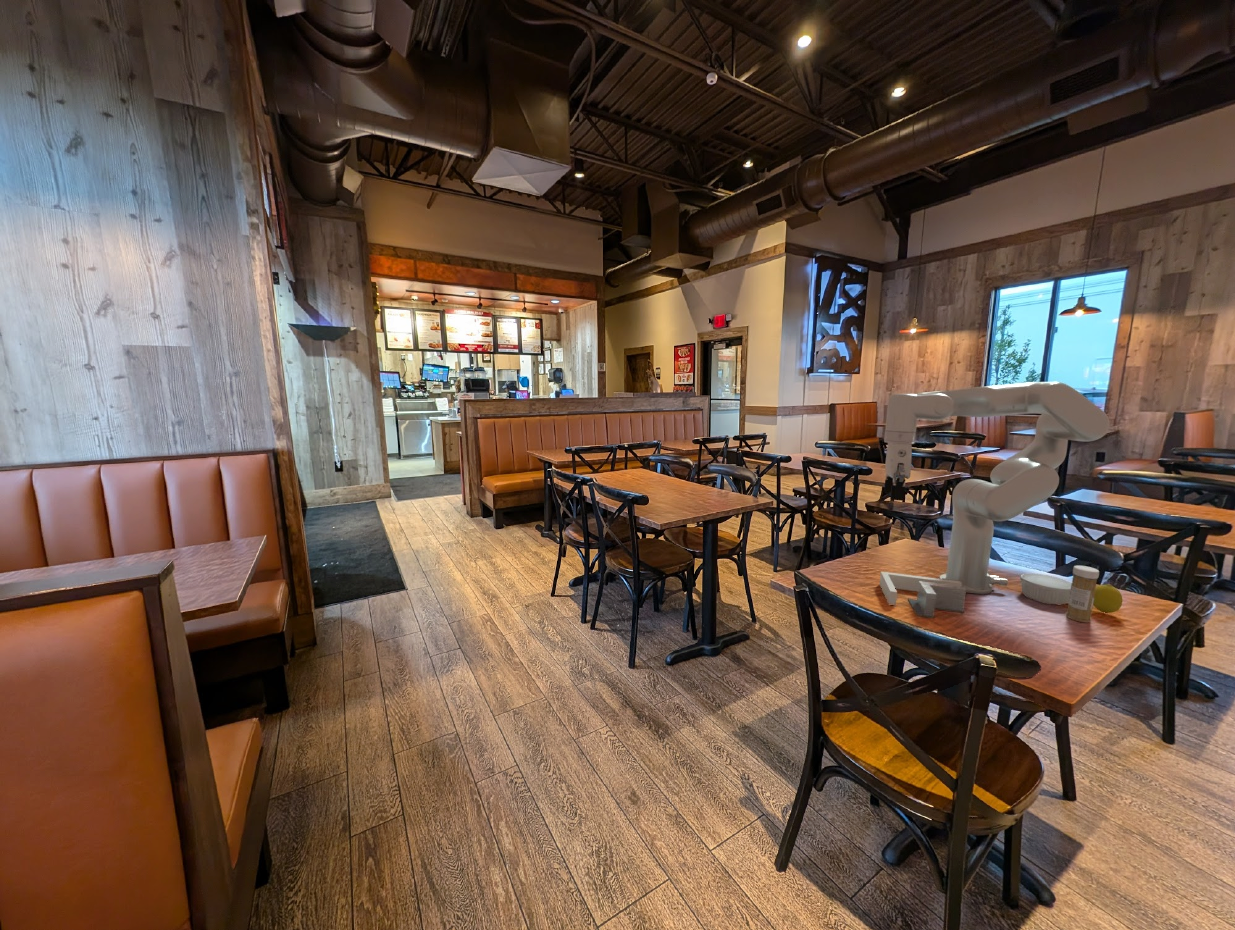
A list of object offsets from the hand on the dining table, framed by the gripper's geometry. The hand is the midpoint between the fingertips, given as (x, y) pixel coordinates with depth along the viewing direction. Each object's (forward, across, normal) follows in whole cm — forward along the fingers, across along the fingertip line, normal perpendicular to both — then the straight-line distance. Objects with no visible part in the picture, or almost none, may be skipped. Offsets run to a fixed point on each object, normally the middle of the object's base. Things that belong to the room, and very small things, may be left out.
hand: (893, 496), depth 136 cm
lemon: (+26, -2, -50) cm, 57 cm away
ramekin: (+27, +4, -40) cm, 48 cm away
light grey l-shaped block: (+26, -10, -8) cm, 29 cm away
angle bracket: (+26, -17, -11) cm, 33 cm away
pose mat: (+26, -16, -10) cm, 32 cm away
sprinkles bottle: (+26, -8, -42) cm, 50 cm away
